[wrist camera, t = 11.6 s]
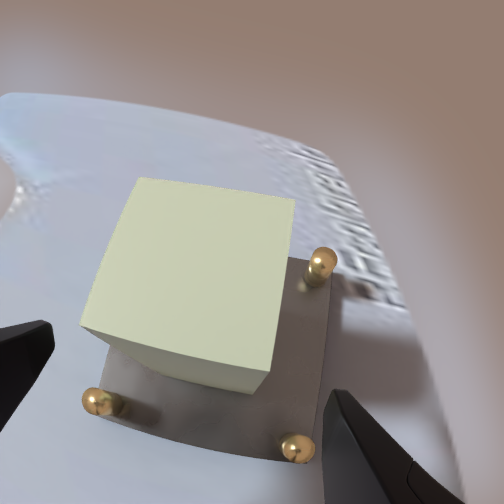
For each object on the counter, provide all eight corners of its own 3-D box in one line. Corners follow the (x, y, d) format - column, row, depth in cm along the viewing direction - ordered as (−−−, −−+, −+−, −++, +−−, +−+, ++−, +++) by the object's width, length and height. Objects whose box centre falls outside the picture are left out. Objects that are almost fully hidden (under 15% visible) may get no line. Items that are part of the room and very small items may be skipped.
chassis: (328, 271, 21) (343, 245, 18) (303, 461, 15) (317, 470, 12) (151, 240, 21) (138, 210, 18) (99, 414, 16) (73, 412, 13)
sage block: (252, 394, 16) (269, 371, 7) (161, 374, 16) (79, 324, 7) (268, 308, 18) (295, 199, 10) (183, 292, 19) (138, 176, 10)
